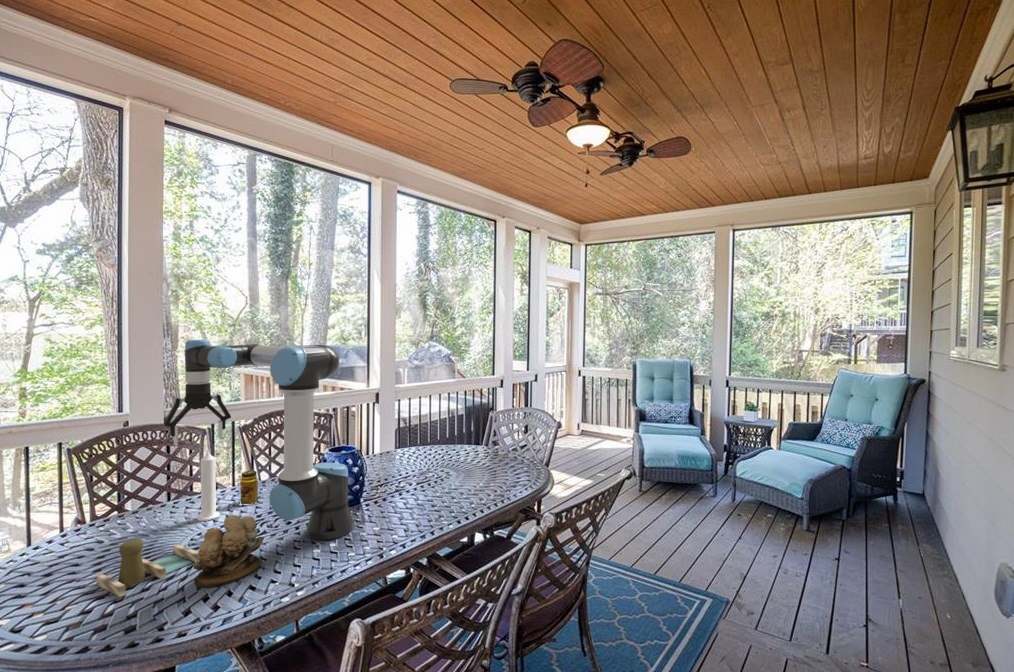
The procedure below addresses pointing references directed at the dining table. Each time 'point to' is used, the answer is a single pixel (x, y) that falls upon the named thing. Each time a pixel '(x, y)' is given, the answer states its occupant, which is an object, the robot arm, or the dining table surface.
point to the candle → (208, 488)
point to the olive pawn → (131, 563)
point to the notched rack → (153, 568)
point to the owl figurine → (228, 553)
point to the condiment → (249, 487)
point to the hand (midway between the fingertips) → (198, 441)
